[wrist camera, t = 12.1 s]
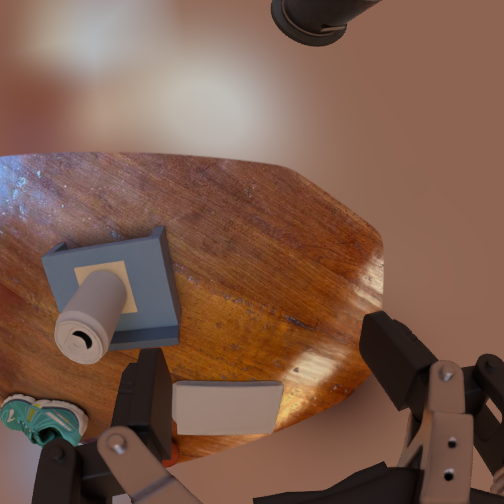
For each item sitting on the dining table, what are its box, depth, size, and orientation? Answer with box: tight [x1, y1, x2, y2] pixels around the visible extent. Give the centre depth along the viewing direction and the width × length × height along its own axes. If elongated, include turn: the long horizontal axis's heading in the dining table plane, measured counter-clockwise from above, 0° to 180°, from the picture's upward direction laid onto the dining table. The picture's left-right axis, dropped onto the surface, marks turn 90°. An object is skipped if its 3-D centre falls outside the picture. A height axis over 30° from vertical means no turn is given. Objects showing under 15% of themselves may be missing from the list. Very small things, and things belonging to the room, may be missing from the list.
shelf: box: [41, 226, 181, 351], centre depth 37 cm, size 14×18×9 cm
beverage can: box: [54, 271, 127, 364], centre depth 30 cm, size 6×6×12 cm
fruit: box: [162, 442, 180, 468], centre depth 53 cm, size 9×9×8 cm
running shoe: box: [0, 394, 89, 448], centre depth 43 cm, size 11×29×11 cm, turn 100°
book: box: [172, 380, 284, 435], centre depth 53 cm, size 15×23×4 cm, turn 81°
